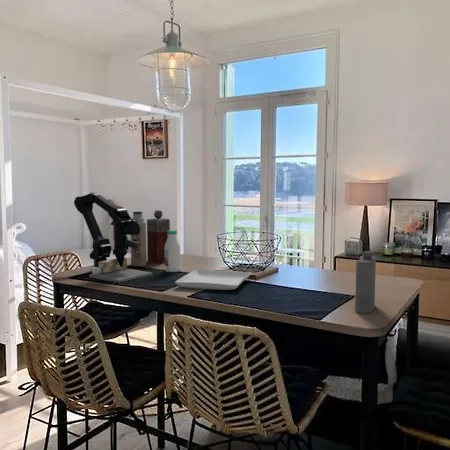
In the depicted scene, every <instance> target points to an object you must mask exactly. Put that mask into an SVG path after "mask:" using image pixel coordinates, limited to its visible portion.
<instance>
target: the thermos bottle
mask: <svg viewBox="0 0 450 450" xmlns="http://www.w3.org/2000/svg"><path fill="white" fill-rule="evenodd" d="M131 219H132V221H137V223H138V224H139V226H140V233H139V234H138V235H130V240H133V239H136V240H137V242H139V244H138V247H137V250H136V249H134V248H131V247H130V261H131V262H130V264H131V266H133V267H134V266H135V267H136V266H137V267H138V266H139V267H141V266H142V267H143V266H146V265H147V221H145V217H143V211H132V217H131Z"/></svg>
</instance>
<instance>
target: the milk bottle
mask: <svg viewBox="0 0 450 450" xmlns="http://www.w3.org/2000/svg"><path fill="white" fill-rule="evenodd" d="M177 231H178V230H175V229H170V230H169V231H167V234H168V239H167V241H166V244H165V262H164V271H165V272H166V273H177V272H181V246H180V243H179V241H178V235H177V234H178V232H177Z"/></svg>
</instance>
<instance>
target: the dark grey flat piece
mask: <svg viewBox="0 0 450 450" xmlns="http://www.w3.org/2000/svg"><path fill="white" fill-rule="evenodd" d="M91 269H92V270H91V273H90V274H89V275H88V277H89V278H91V279H96V280H102V281H106V282H111V281H113V282H112V283H116V282H118V284H120V282H121V283H125V282H128V280H129V281H133V280H132V279H134V280H137V278H138V279H141V278H146V277H150V276H153V272H152V271H144V270H139V269H132V268H128V267H127V268H125V269H120V270H116V271H111V272H106V273H101V267H94V266H93V267H92V268H91ZM124 281H125V282H124Z"/></svg>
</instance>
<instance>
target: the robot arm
mask: <svg viewBox="0 0 450 450" xmlns="http://www.w3.org/2000/svg"><path fill="white" fill-rule="evenodd" d="M73 204H74V207H75V208H76V211H77V212H78V213H80V214H81V215H82V216H83V218H84V222H85V224H86V226H87V228H88V231H89V233H90V236H91V238H92V250H91V252H90V253H89V259H91V260H93V268H94V267H99V265H98V262H101V261H106V260H108V259H107V258H110V257H111V253H112V255H114V257H115V259H117V261H118V263H119V265H120V267H123V262H124V258H125V257H126V255H127V254H128V252H129V249H131V248H134V249H136V250H137V247H138V244H139V242H137V240H136V239H133V240H131V239H128V236H131V235H138V234H139V233H140V226H139V224H138V223H137V221H132V217H131V216H130V214H129V212H128V210H127V208H125V207H123V206H119V205H116V204H114V203H112V202H111V201H109V200H108V199H106V198H105V196H102V195H101V194H100V193H98V192H90V193H88V194H85V195H81V196H76V197H75V199H74V201H73ZM94 204H95V205H97V206H98V207H99V208H101V209H102V210H104V211H105V212H107V214H108V216H109V218H110V219H112V221H111V223H110V226H113V232H114V233H113V235H114V236H113V241H114V247H113V248H114V249H113V248H112V244H111V241H110V239H109V238H108V237H107V238H105V237H104V236H103V233H102V231H101V229H100V226H99V224H98V222H97V219H96V217H95V214H94V212H93V209H94ZM91 271H92V268H91Z"/></svg>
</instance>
